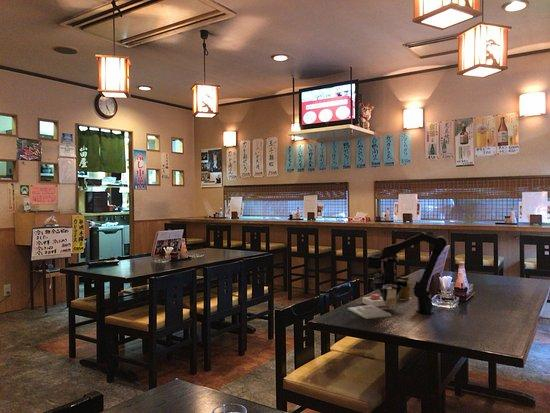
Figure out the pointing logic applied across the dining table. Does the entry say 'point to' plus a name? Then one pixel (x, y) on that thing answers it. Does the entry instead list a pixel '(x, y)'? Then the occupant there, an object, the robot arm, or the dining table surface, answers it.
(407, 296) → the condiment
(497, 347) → the dining table surface
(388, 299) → the block
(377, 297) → the button
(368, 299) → the button housing
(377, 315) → the tray
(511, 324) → the dining table surface
